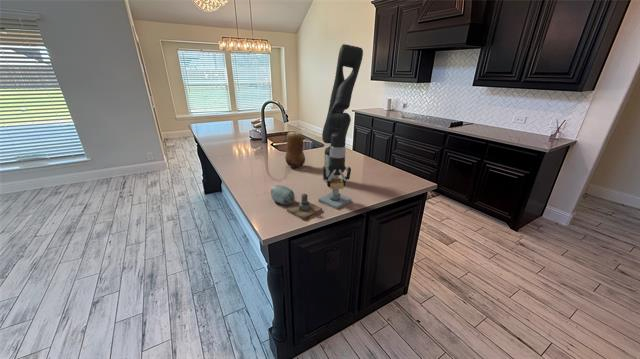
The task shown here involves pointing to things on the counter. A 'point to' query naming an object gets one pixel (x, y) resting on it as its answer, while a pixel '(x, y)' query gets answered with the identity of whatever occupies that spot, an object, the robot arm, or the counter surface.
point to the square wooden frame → (336, 183)
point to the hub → (335, 199)
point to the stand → (304, 209)
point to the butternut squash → (295, 150)
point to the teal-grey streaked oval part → (282, 195)
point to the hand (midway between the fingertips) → (336, 186)
